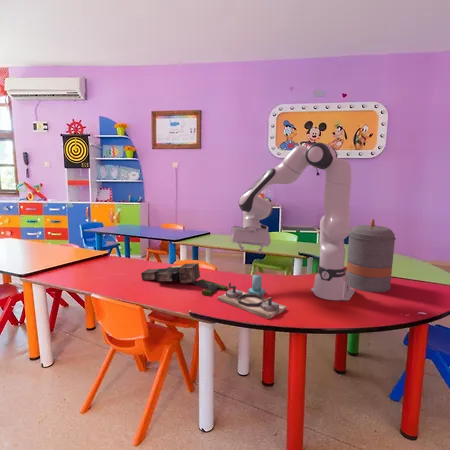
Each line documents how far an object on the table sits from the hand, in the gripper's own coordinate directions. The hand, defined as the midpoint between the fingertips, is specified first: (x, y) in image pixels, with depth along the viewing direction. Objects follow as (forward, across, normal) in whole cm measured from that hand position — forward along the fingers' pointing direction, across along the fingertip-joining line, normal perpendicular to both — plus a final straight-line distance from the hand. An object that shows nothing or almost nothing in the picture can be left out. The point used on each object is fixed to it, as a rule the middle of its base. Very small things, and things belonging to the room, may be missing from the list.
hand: (250, 251), depth 164 cm
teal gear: (+20, +4, +2) cm, 21 cm away
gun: (+18, -20, +11) cm, 30 cm away
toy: (+11, -38, +23) cm, 46 cm away
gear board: (+30, -2, -8) cm, 31 cm away
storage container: (+9, +64, +5) cm, 65 cm away
